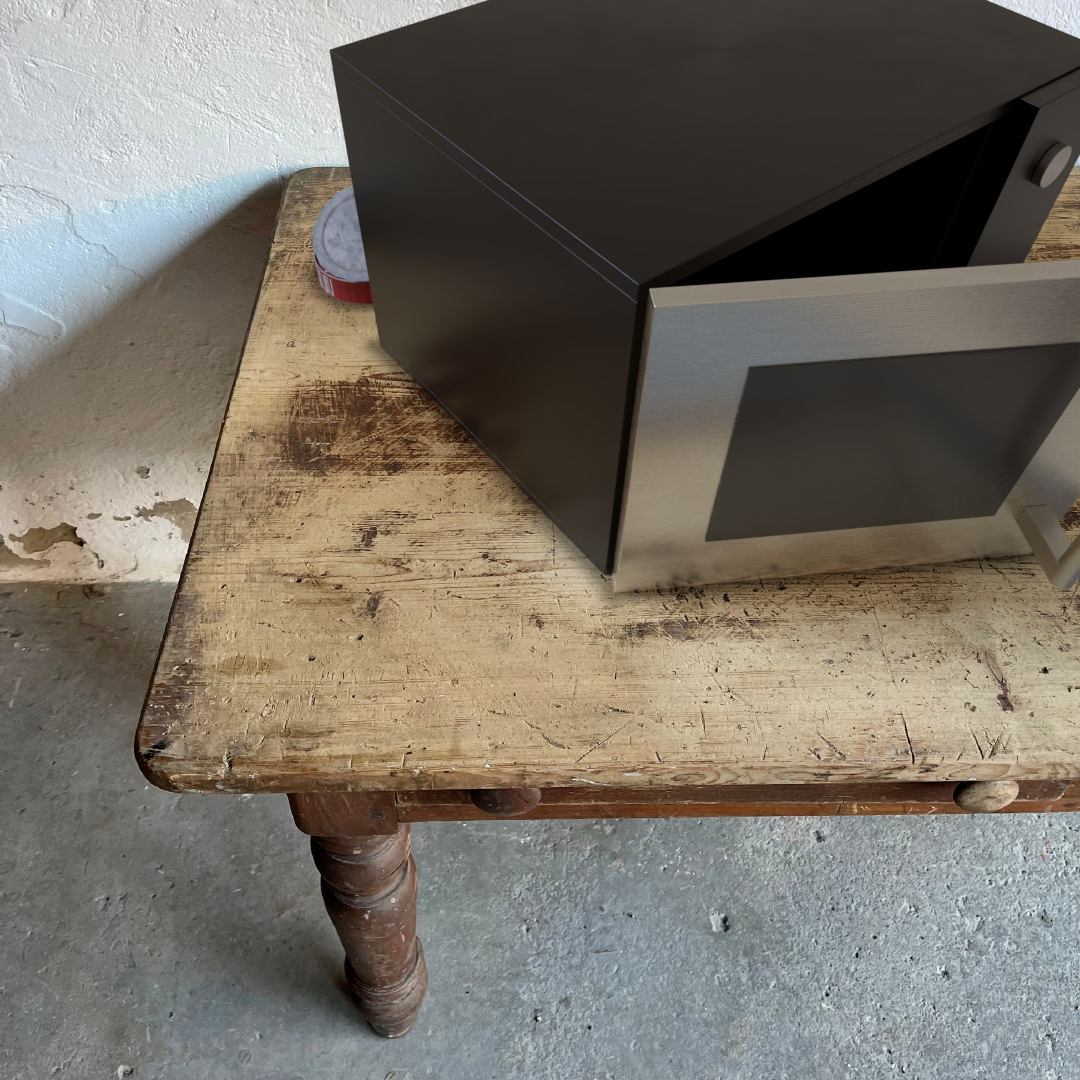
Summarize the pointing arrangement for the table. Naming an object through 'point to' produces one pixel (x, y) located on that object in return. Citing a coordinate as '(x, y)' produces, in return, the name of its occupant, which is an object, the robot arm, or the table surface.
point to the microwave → (671, 188)
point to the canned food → (341, 250)
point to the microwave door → (854, 425)
